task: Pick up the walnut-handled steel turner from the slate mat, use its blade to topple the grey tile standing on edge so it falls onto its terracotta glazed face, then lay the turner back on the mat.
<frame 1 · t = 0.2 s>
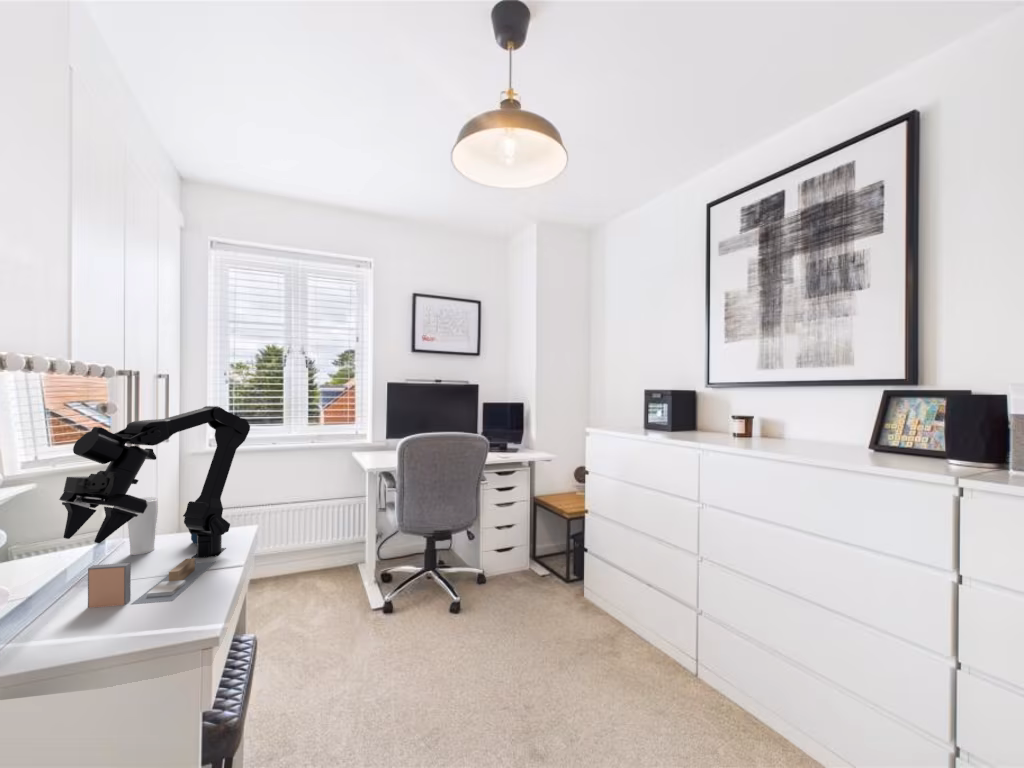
hand: (81, 540, 97), 14 cm above the table, tool tilted 30°, fingers open, 9 cm apart
soda can: (205, 541, 136), on the table
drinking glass: (142, 553, 127), on the table
turner: (178, 580, 109), point 1 cm above the table, touching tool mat
tile: (109, 606, 97), on the table
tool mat: (178, 582, 109), on the table
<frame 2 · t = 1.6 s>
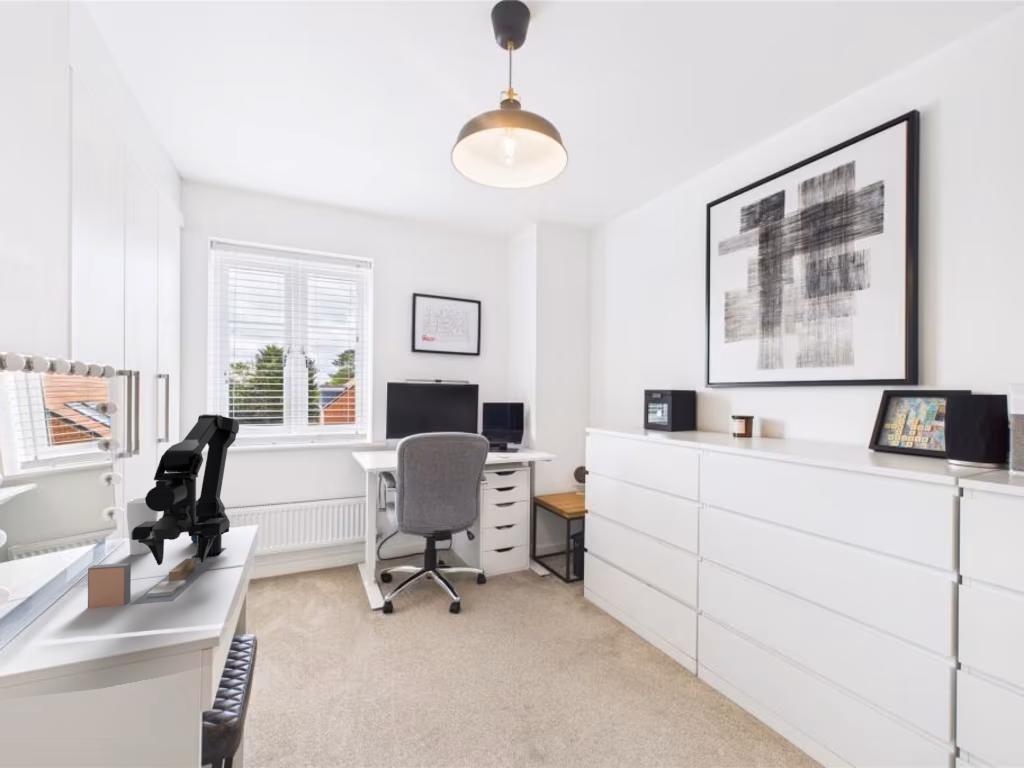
hand: (181, 563, 110), 4 cm above the table, tool pointing down, fingers open, 9 cm apart
nothing on the table moved.
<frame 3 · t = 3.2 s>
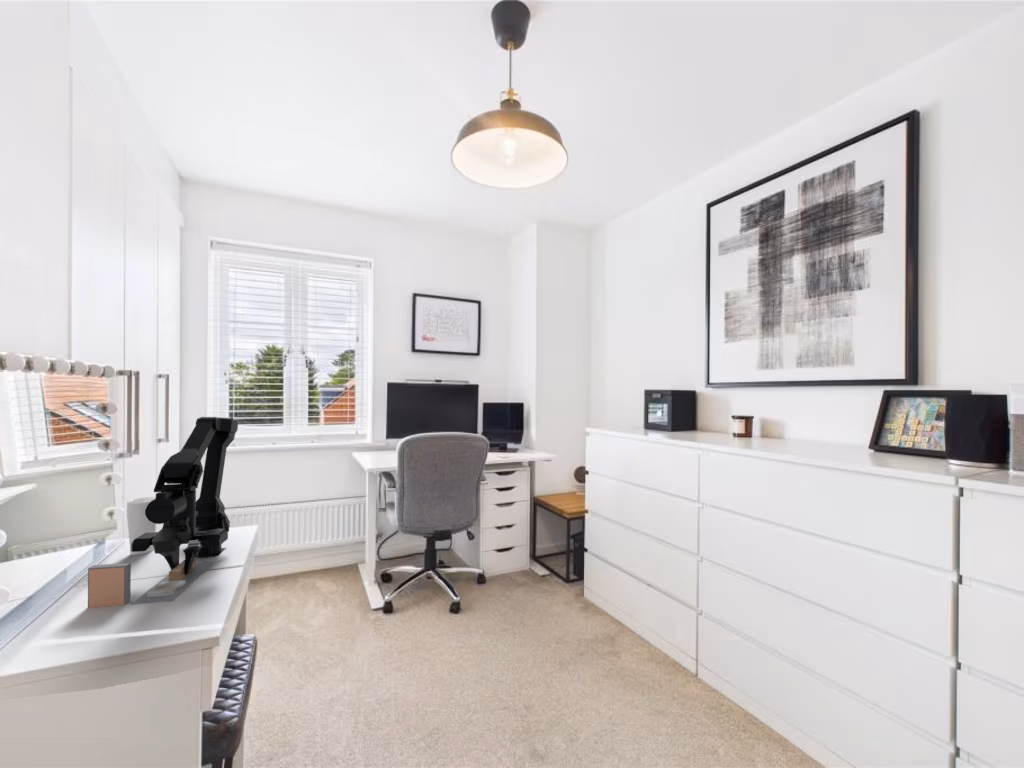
hand: (181, 574, 110), 1 cm above the table, tool pointing down, fingers closed on turner, 2 cm apart
turner: (178, 580, 109), point 1 cm above the table, touching gripper, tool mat
everything else where it was.
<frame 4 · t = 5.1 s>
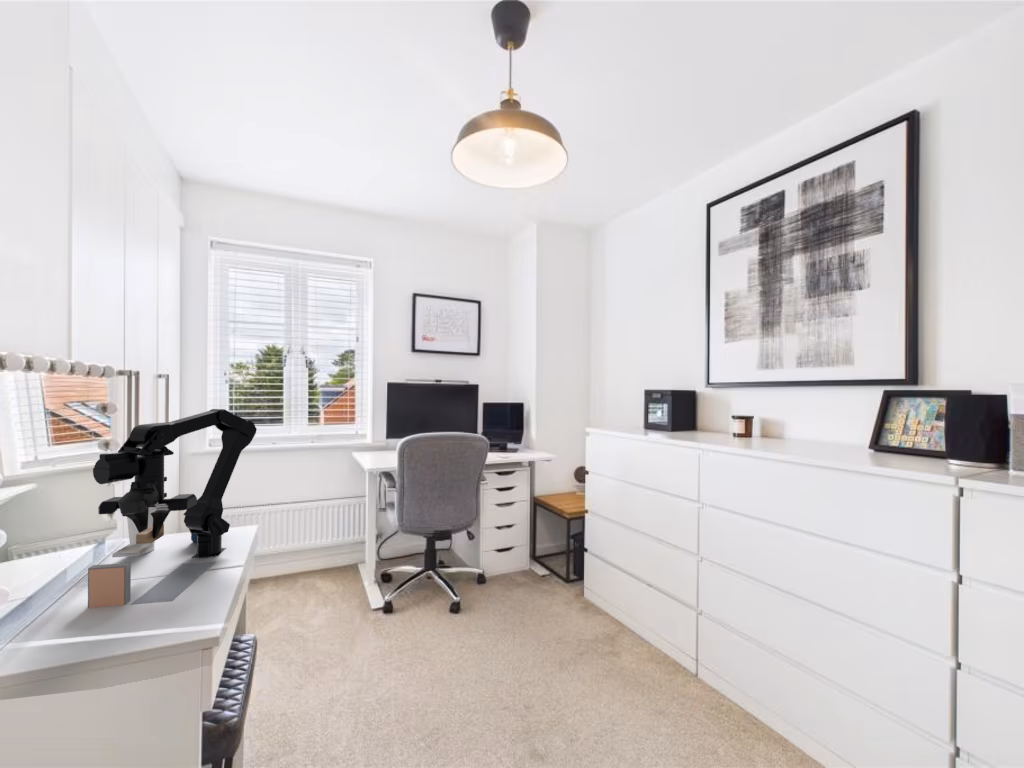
hand: (149, 538, 111), 10 cm above the table, tool pointing down, fingers closed on turner
turner: (145, 543, 110), point 9 cm above the table, touching gripper
everything else where it was.
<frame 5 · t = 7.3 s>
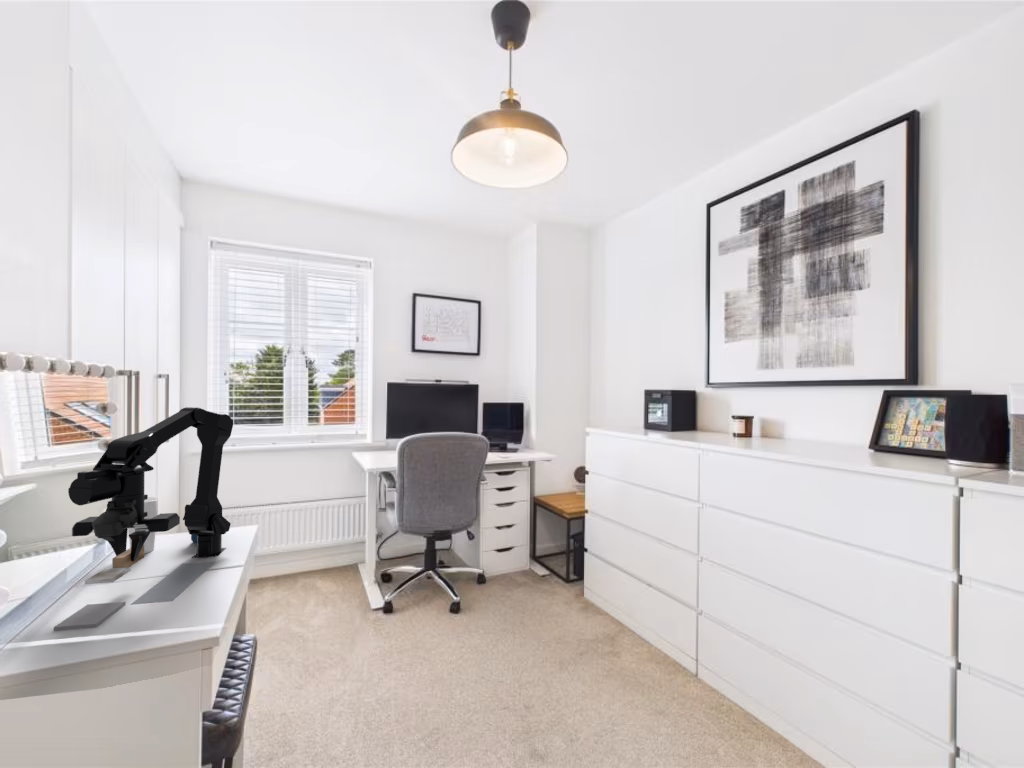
hand: (127, 561, 103), 7 cm above the table, tool pointing down, fingers closed on turner
turner: (123, 567, 102), point 7 cm above the table, touching gripper
tile: (106, 606, 96), on the table, tilted 90°
everything else where it was.
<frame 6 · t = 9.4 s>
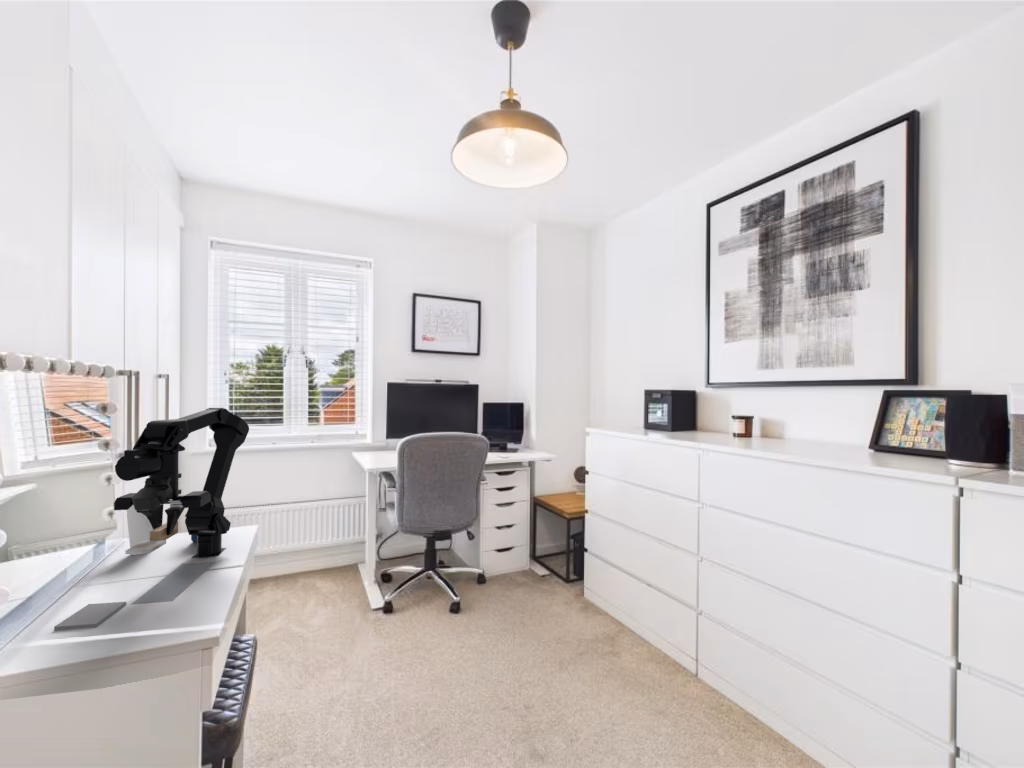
hand: (163, 535, 110), 11 cm above the table, tool pointing down, fingers closed on turner
turner: (159, 541, 109), point 10 cm above the table, touching gripper
everything else where it was.
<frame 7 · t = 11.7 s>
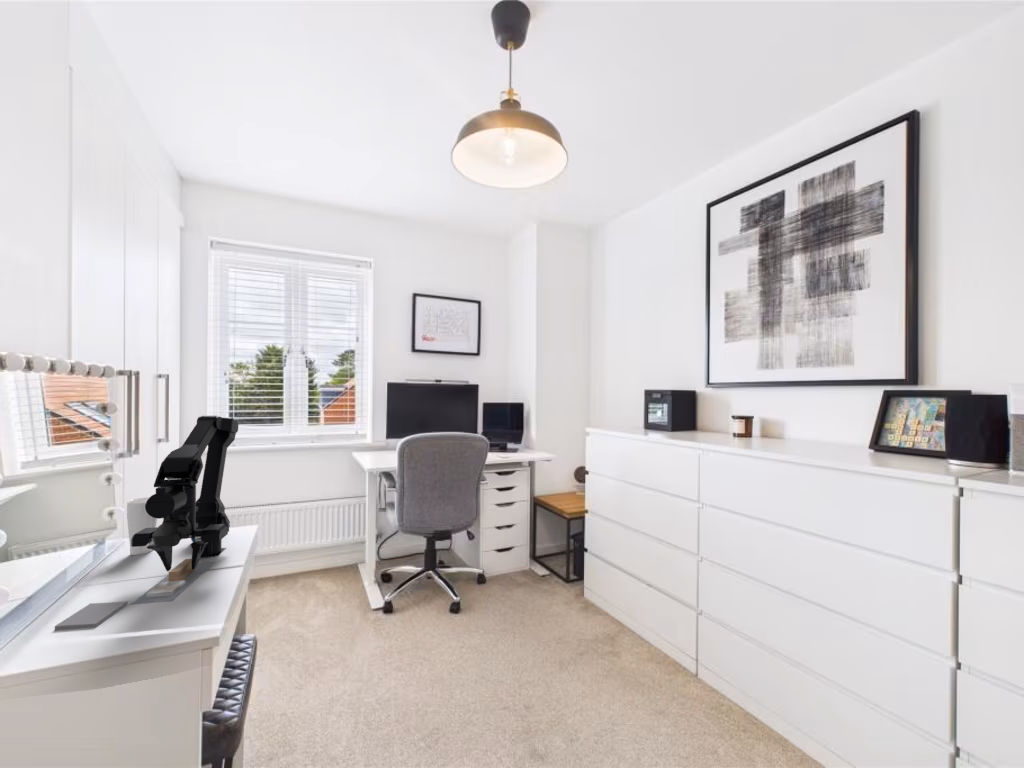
hand: (181, 569, 110), 3 cm above the table, tool pointing down, fingers open, 5 cm apart
turner: (177, 580, 108), point 1 cm above the table, touching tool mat
everything else where it was.
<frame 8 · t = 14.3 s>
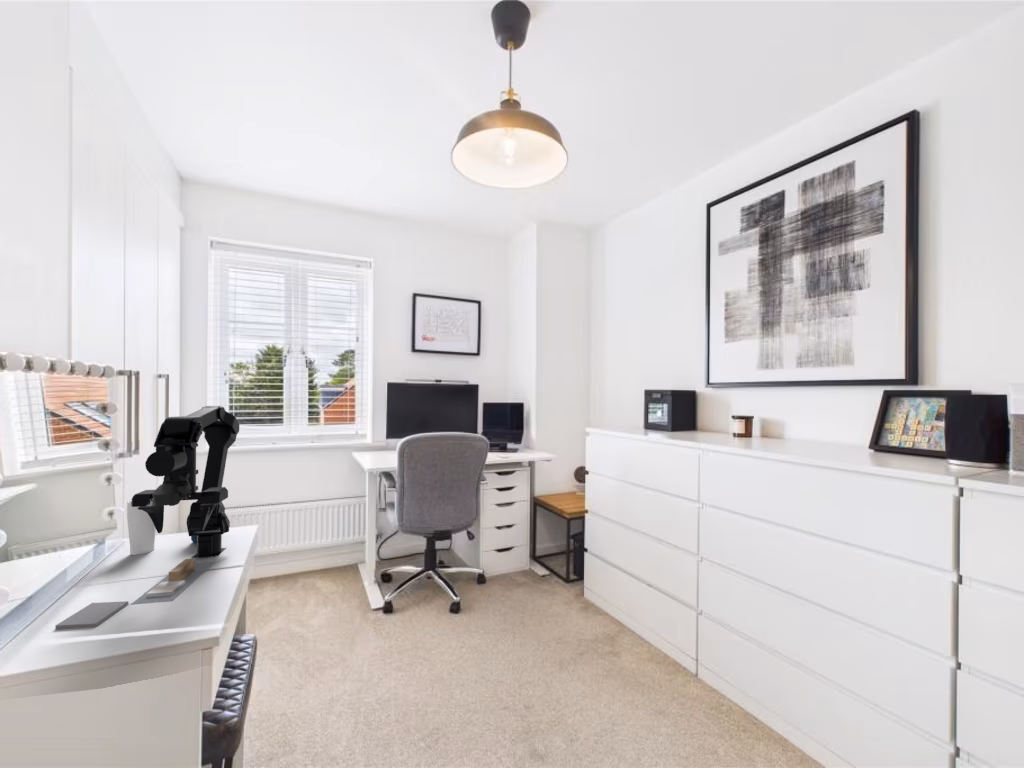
hand: (181, 531, 110), 12 cm above the table, tool pointing down, fingers open, 9 cm apart
nothing on the table moved.
at the end: tile tilted 90°; tile inside the target area (1.8 cm from its centre), point 0.5 cm above the table; turner inside the target area (0.1 cm from its centre), point 0.6 cm above the table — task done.
